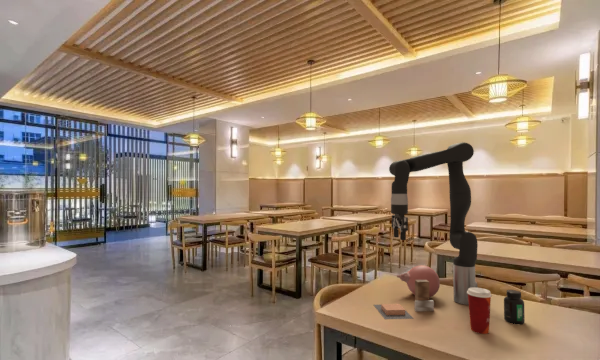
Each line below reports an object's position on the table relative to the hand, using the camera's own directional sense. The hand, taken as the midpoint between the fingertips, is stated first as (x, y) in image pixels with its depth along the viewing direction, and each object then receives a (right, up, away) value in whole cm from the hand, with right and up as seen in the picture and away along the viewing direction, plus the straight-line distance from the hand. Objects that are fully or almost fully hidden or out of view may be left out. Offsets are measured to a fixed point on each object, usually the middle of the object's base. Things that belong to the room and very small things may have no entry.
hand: (399, 238), depth 147 cm
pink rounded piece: (+12, -31, +10) cm, 35 cm away
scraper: (+7, -30, -8) cm, 32 cm away
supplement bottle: (+40, -30, -19) cm, 54 cm away
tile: (-7, -28, -8) cm, 30 cm away
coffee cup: (+22, -30, -28) cm, 46 cm away
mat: (-6, -30, -11) cm, 33 cm away
